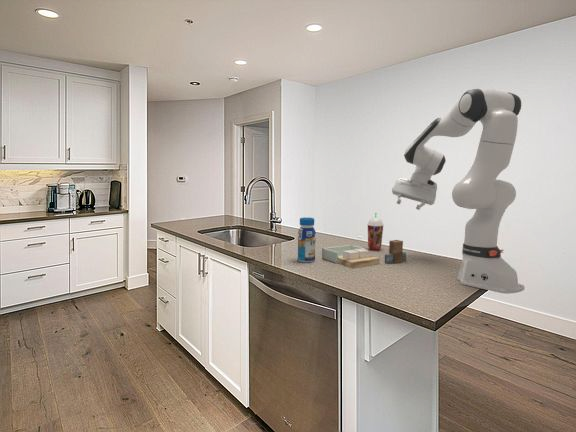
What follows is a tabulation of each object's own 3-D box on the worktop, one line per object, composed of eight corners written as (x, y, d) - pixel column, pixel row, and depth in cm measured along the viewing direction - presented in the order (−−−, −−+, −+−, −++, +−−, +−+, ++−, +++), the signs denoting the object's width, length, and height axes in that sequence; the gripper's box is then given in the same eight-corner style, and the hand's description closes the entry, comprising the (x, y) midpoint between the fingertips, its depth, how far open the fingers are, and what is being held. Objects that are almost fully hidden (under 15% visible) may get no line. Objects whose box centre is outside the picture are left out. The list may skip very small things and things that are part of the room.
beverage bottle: (299, 258, 176) (299, 216, 174) (316, 259, 174) (317, 217, 172) (295, 262, 168) (296, 219, 166) (314, 263, 166) (314, 219, 164)
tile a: (368, 256, 169) (368, 250, 169) (360, 258, 166) (360, 251, 166) (361, 254, 173) (361, 248, 173) (352, 255, 171) (353, 249, 170)
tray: (366, 259, 176) (366, 248, 175) (336, 263, 166) (336, 252, 166) (350, 254, 185) (351, 244, 184) (322, 258, 176) (322, 248, 175)
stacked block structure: (407, 261, 172) (408, 240, 171) (388, 264, 166) (389, 242, 165) (401, 259, 175) (402, 239, 174) (383, 262, 169) (384, 241, 168)
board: (379, 263, 167) (379, 258, 166) (352, 268, 158) (352, 262, 158) (364, 259, 175) (364, 254, 175) (338, 263, 167) (338, 257, 167)
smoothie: (382, 251, 192) (384, 213, 190) (366, 250, 194) (367, 213, 192) (382, 248, 200) (383, 212, 198) (366, 247, 202) (367, 211, 200)
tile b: (358, 258, 166) (358, 251, 166) (350, 259, 163) (350, 253, 163) (351, 256, 170) (351, 249, 170) (342, 257, 168) (343, 250, 167)
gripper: (397, 173, 180) (386, 196, 175) (440, 184, 169) (429, 208, 165) (398, 180, 185) (387, 203, 181) (439, 191, 175) (429, 215, 171)
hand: (407, 206), depth 173 cm, fingers open, 8 cm apart
